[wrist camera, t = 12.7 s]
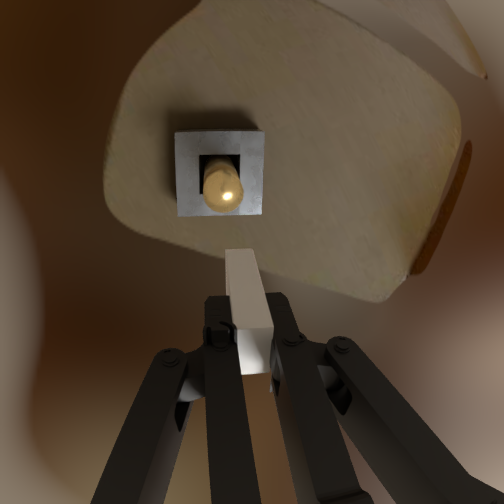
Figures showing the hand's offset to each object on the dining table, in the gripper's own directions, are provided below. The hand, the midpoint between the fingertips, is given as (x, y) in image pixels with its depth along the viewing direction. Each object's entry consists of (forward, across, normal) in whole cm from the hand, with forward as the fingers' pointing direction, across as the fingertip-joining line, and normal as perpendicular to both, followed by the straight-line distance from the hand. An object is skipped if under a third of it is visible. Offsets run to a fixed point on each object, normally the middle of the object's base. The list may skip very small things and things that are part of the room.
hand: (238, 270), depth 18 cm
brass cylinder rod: (+31, 0, -1) cm, 31 cm away
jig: (+31, 0, -1) cm, 31 cm away
